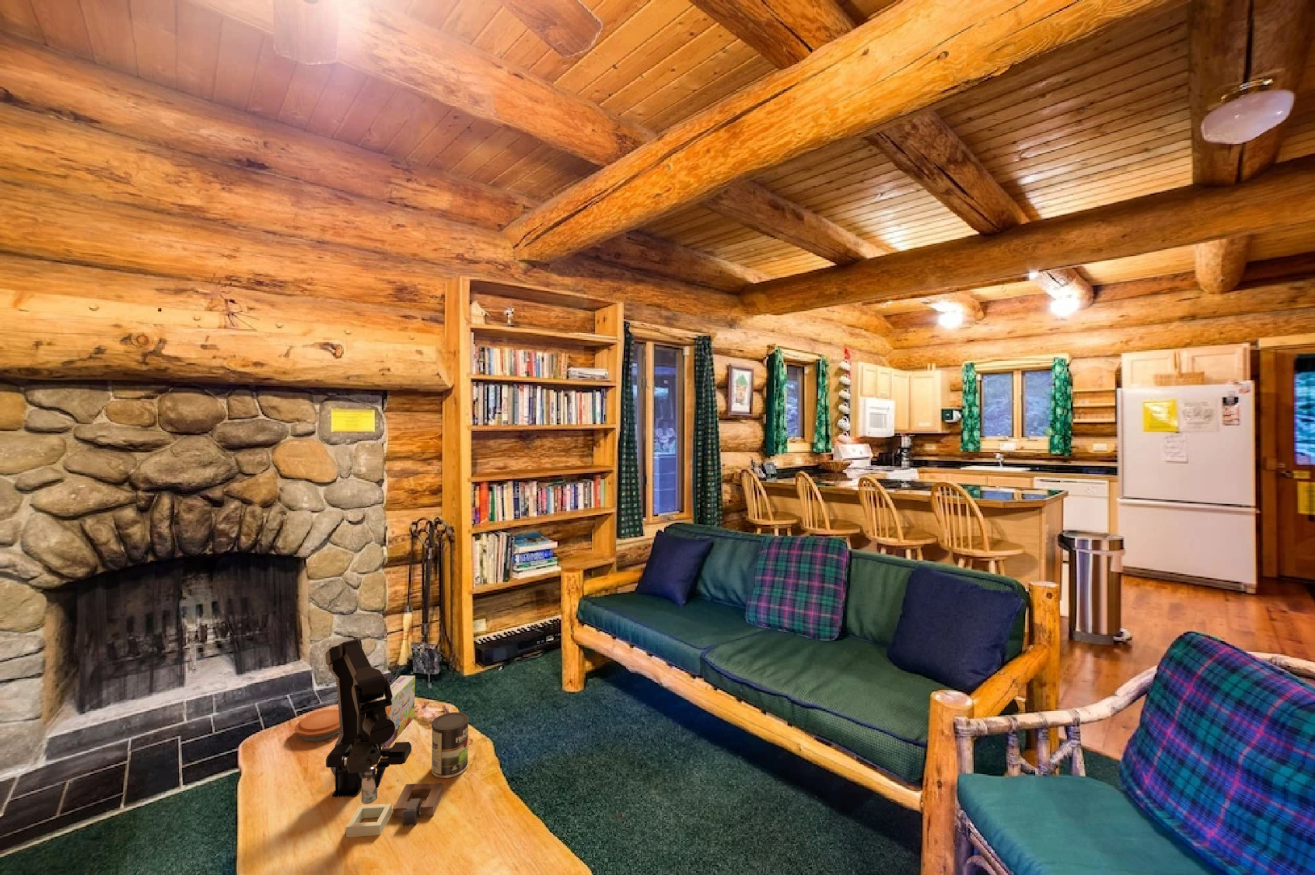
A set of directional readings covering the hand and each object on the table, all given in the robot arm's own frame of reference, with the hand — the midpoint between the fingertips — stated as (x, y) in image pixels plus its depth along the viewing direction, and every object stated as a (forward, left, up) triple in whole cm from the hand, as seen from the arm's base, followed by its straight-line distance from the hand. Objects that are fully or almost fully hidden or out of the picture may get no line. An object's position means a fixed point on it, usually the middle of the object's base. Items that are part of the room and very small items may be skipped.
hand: (369, 787), depth 144 cm
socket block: (+10, +7, -10) cm, 16 cm away
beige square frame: (0, 0, -10) cm, 10 cm away
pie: (-32, +46, -10) cm, 57 cm away
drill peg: (0, 0, -3) cm, 3 cm away
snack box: (-9, +43, -10) cm, 45 cm away
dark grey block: (+10, +1, -10) cm, 14 cm away
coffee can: (+14, +23, -10) cm, 29 cm away
